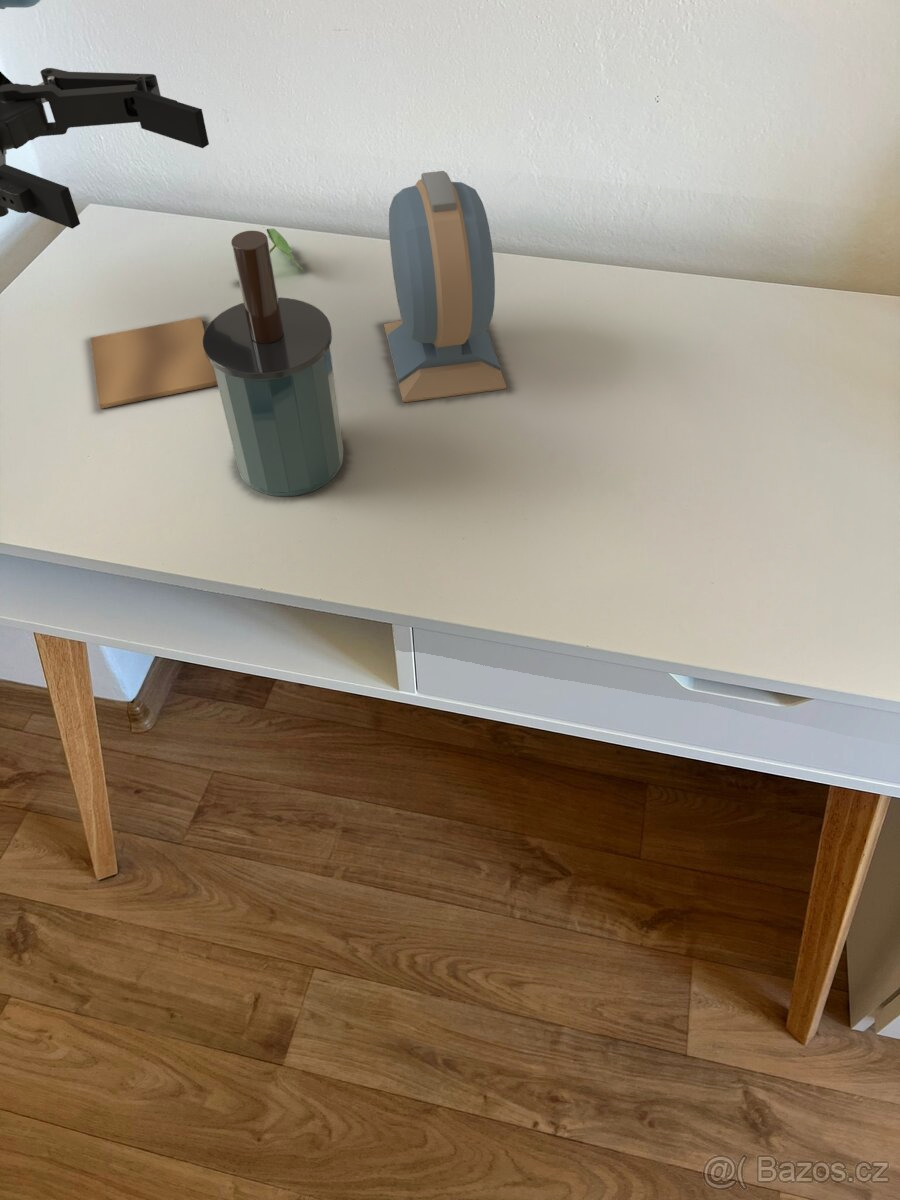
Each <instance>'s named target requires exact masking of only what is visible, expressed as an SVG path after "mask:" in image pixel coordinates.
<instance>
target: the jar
mask: <svg viewBox="0 0 900 1200" xmlns="http://www.w3.org/2000/svg"><path fill="white" fill-rule="evenodd" d="M213 368H214V372H215V376H216V380H217V384H218V385H217V388H218V391H219V396H220V399H221V404H222V409H223V412H224V416H225V421H226V425H227V429H228V433H229V437H230V441H231V445H232V449H233V453H234V457H235V462H236V465H237V470H238V473H239V476H240V477H241V479H242V480H243V481H244V483H245V484H246V485H247V486H249V488H252V489H253V490H254V491H256V492H258V493H262V494H265V495H268V496H273V497H294V496H295V497H296V496H301V495H305V494H308V493H311V492H314V491H316V490H318V489H321V488H322V487H324V486H326V485H327V484H328V483H329V482H331V481H332V480H333V479H334V478H335V477H336V476H337V474H338V473H339V471H340V469H342V468H341V467H342V466H343V462H344V444H343V437H342V430H341V421H340V414H339V408H338V399H337V392H336V385H335V378H334V369H333V361H332V354H331V346H330V347H329V349H328V350H327V352H326V353H325V354H324V356H323V357H322V358H321V359H320V360H318V361H317V362H316V363H315V364H313V365H312V366H310V367H308V368H307V369H305V370H303V371H300V372H298V373H295V374H292V375H289V376H286V377H282V378H276V379H268V380H250V379H242V378H237V377H234V376H230V375H228V374H225V373H223V372H221V371H220V370H218V369H217V368H215V367H214V366H213Z"/></svg>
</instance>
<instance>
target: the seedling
mask: <svg viewBox="0 0 900 1200" xmlns="http://www.w3.org/2000/svg"><path fill="white" fill-rule="evenodd" d="M256 217H257V216H256ZM257 219H259V218H258V217H257ZM261 225H262V227H264V226H263V224H261ZM266 233H267V234H266V235H268V236H267V237H268V239H269V240H270V241H271V242H272V244H273V246H272V247H271V248H270V254H271V253H273V251H274V249H275V248H277V249H279V251H280V252H282V254H284V255H285V256H286V257H287V258H288V259H289V260H290V261H292V262H293V263H294V264H295V265H296V266H298V267H299V268H300V269H303V267H302V266H301V265H300V264H299V263H298V262H297V261H296V260H294V259H295V257H294V256H293V255H292V254H291V253H292V249H291V246H290V245H289V243H288V242H287V241H286V238H285V237H284V236H283V235H282V234H281V233H280V232H279V231H278V230H276V229H275V228H274V227H273V228H266ZM238 284H239V285H240V283H239V282H238Z"/></svg>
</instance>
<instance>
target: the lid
mask: <svg viewBox="0 0 900 1200" xmlns="http://www.w3.org/2000/svg"><path fill="white" fill-rule="evenodd" d="M230 243H231V249H232V254H233V258H234V262H235V263H234V264H235V268H236V272H237V278H238V284H239V283H240V284H239V288H240V293H241V298H242V302H241V303H238V304H236V305H233V306H231V307H229V308H227V309H225V310H224V311H222V312H220V313H219V314H218V315H217V316H216V317H214V318H213V319H212V321H210V323H209V324H208V325H207V327H206V328H205V329H204V331H205V332H204V335H203V349H204V352H205V355H206V357H207V359H208V361H209V362H210V363H211V364H212V365H213V366H214V367H215V368H217V369H218V370H220V371H221V372H223V373H225V374H228V375H230V376H234V377H237V378H242V379H250V380H268V379H276V378H282V377H286V376H289V375H292V374H295V373H298V372H300V371H303V370H305V369H307V368H308V367H310V366H312V365H313V364H315V363H316V362H317V361H318V360H320V359H321V358H322V357H323V356H324V354H325V353H326V352H327V350H328V349H329V347H330V348H331V344H332V340H333V331H332V325H331V322H330V320H329V318H328V316H327V315H326V314H325V313H324V312H323V311H322V310H321V309H319V308H318V307H316V306H315V305H313V304H311V303H309V302H306V301H304V300H299V299H295V298H289V297H288V298H287V297H279V296H278V291H277V285H276V279H275V274H274V268H273V267H274V266H273V262H272V256H271V253H270V250H271V248H270V244H269V237H268V236H267V234H265V233H264V232H263V231H260V230H245V231H241V232H239V233H237V234H235V235H234V236H233V237H232V239H231V242H230Z"/></svg>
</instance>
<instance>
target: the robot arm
mask: <svg viewBox="0 0 900 1200" xmlns="http://www.w3.org/2000/svg"><path fill="white" fill-rule="evenodd" d="M40 2H41V0H0V10H5V9H6V8H16V9H17V8H19V9H20V8H22V9H24V8H25V9H26V8H31V7H35V6H36V5H37V4H39V3H40ZM39 73H40V75H41V79H42V82H41V83H39V84H37V85H31V84H27V83H26V84H24V83H22V84H20V83H13V82H12V81H11V80H10V79H9V78H8V77H7V76H6V75H5V74H4V73H3V72H2V71H0V218H2V217H5V216H7V215H8V214H9V213H10V212H9V210H11V211H14V212H16V213H19V214H20V213H21V214H27V213H30V214H33V215H36V216H38V217H41V218H44V219H46V220H49V221H51V222H54V223H55V224H59V225H61V226H63V227H67V228H70V229H75V228H76V227H78V226H80V225H81V222H80V218H79V216H78V212H77V209H76V207H75V203H74V200H73V197H72V194H71V191H70V188H69V186H65V185H63V184H60V183H58V182H55V181H52V180H50V179H46V178H44V177H41V176H38V175H36V174H33V173H30V172H28V171H25V170H23V169H20V168H17V167H14V166H11V165H9V164H7V157H6V155H7V152H8V151H7V150H12V149H16V150H17V149H19V148H21V147H23V146H25V145H26V144H27V143H28V142H30V141H34V140H35V139H37V138H40V137H50V136H61V135H65V134H67V132H68V130H69V129H70V128H84V127H95V126H107V125H108V126H109V125H119V124H132V123H139V124H140V128H141V129H142V130H144V131H147V132H151V133H154V134H157V135H160V136H162V137H163V136H164V137H166V138H168V139H169V138H170V139H172V140H176V141H178V142H182V143H185V144H187V145H191V146H194V147H197V148H201V149H204V148H206V147H207V146H209V145H210V141H209V136H208V133H207V132H208V131H207V127H206V123H205V119H204V114H203V108H199V107H196V106H193V105H189V104H186V103H183V102H180V101H177V100H175V99H172V98H169V97H166V96H163V95H161V91H160V86H159V82H158V78H157V75H156V74H154V73H134V72H133V73H129V72H128V73H127V72H95V71H68V70H63V69H59V68H53V67H46V68H43V69H42V70H40V72H39ZM45 103H48V105H49V108H50V111H51V113H52V116H53V119H54V120H53V121H51V122H49V120H48V116H47V113H46V110H45V106H44V104H45Z"/></svg>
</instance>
